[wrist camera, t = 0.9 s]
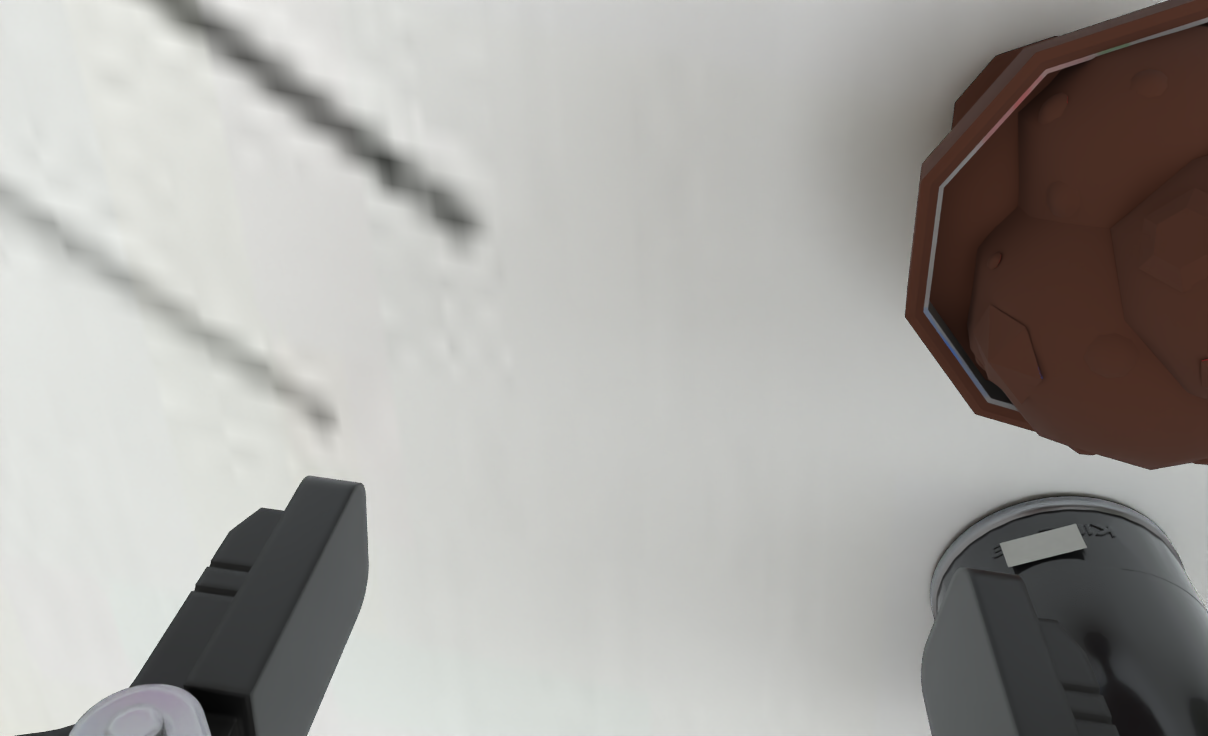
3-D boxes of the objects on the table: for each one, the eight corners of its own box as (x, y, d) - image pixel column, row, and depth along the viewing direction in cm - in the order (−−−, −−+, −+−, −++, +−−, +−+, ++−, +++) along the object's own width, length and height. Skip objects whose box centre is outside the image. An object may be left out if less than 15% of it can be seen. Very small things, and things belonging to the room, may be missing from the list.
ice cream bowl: (944, -108, 27) (1134, -16, 15) (1314, 9, 28) (1812, 197, 15) (806, 229, 33) (856, 511, 20) (1117, 321, 33) (1360, 654, 21)
